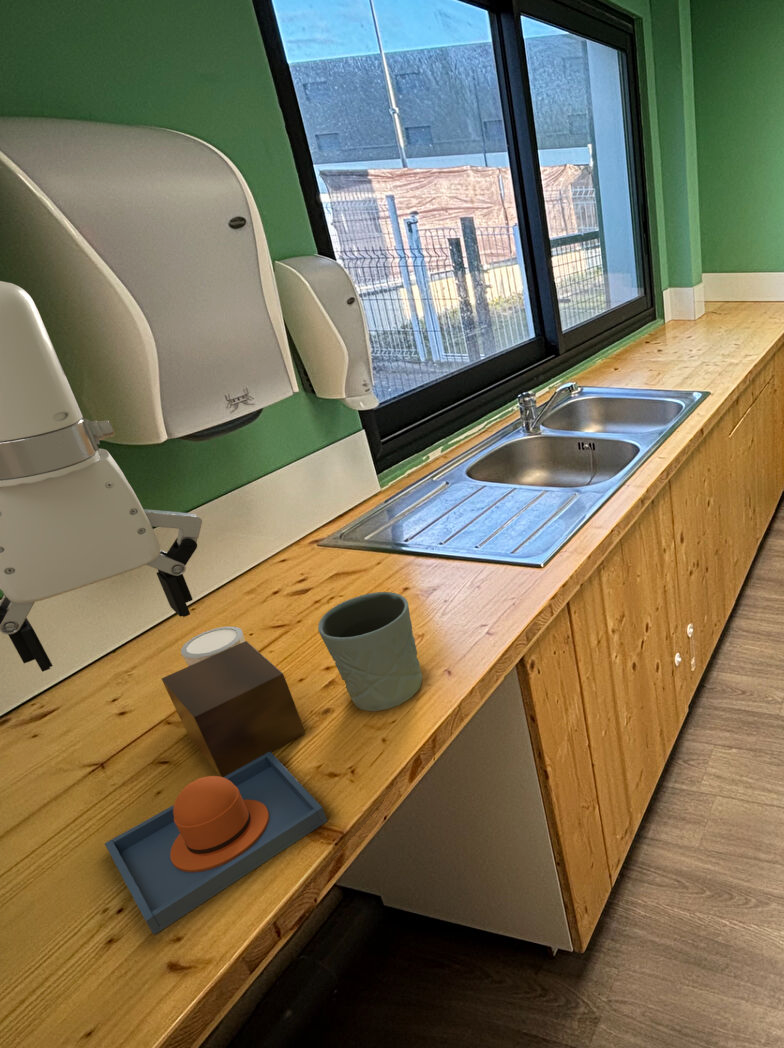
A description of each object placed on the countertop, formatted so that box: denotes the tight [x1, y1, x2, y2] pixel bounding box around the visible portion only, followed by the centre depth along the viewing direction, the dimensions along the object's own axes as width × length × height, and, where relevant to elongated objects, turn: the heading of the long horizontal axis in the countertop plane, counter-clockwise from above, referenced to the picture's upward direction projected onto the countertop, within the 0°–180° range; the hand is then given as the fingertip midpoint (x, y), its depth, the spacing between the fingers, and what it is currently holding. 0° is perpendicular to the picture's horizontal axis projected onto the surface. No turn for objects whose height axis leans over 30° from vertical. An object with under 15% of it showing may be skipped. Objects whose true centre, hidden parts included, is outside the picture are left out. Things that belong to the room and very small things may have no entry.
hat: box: [170, 775, 269, 872], centre depth 69 cm, size 8×8×7 cm
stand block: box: [161, 640, 306, 777], centre depth 83 cm, size 9×11×9 cm
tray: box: [104, 751, 329, 936], centre depth 71 cm, size 15×13×2 cm
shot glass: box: [180, 626, 246, 667], centre depth 92 cm, size 7×7×7 cm
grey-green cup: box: [317, 591, 423, 712], centre depth 89 cm, size 10×10×12 cm
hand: (116, 636), depth 61 cm, fingers open, 9 cm apart
